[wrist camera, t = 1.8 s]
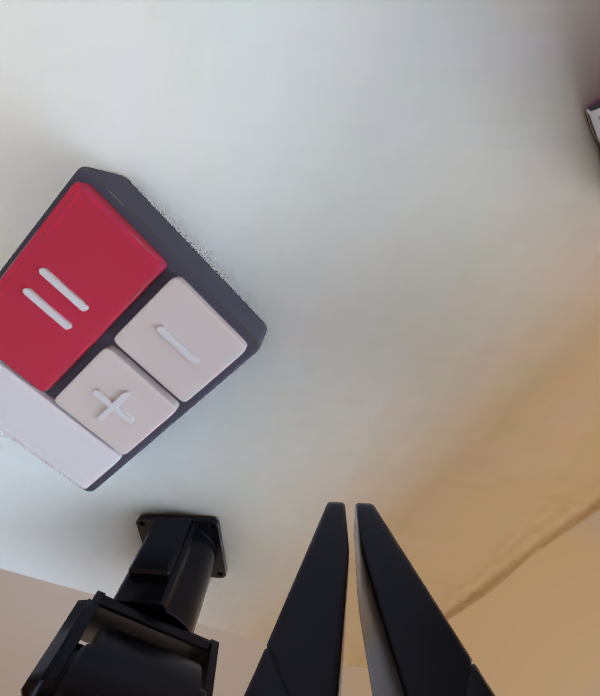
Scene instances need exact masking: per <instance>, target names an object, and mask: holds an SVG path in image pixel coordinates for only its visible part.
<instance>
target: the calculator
mask: <svg viewBox="0 0 600 696" xmlns="http://www.w3.org/2000/svg"><path fill="white" fill-rule="evenodd" d="M266 330H267V328H266V325H265V324H264V322H263V321H262V320H261V319H260V318H259V317H258V316H257V315H256V314H255V313H254V312H253V311H252V310H251V309H250V308H249V307H248V306H247V305H246V303H245V302H244V301H243V300H242V299H241V298H240V297H239V296H238V295H237V294H236V293H235V292H234V291H233V290H232V289H231V288H230V287H229V286H228V285H227V284H226V282H225V281H224V280H223V279H222V278H221V277H220V276H219V275H218V274H217V273H216V272H215V271H214V270H213V269H212V268H211V267H210V266H209V265H208V264H207V262H206V261H205V260H204V259H203V258H202V257H201V256H200V255H199V254H198V253H197V252H196V251H195V250H194V249H193V248H192V247H191V246H190V245H189V244H188V243H187V241H186V240H185V239H184V238H183V237H182V236H181V235H180V234H179V233H178V232H177V231H176V230H175V229H174V228H173V227H172V226H171V225H170V224H169V223H168V222H167V220H166V219H165V218H164V217H163V216H162V215H161V214H160V213H159V212H158V211H157V210H156V209H155V208H154V207H153V206H152V205H151V204H150V203H149V202H148V200H147V199H146V198H145V197H144V196H143V195H142V194H141V193H140V192H139V191H138V190H137V189H136V188H135V187H134V186H133V185H132V184H131V183H130V182H129V181H128V180H127V179H126V178H125V177H123V176H121V175H118V174H114V173H110V172H106V171H102V170H98V169H94V168H90V167H81V168H79V169H78V170H77V172H76V173H75V174H74V175H73V177H72V178H71V179H70V181H69V182H68V183H67V184H66V186H65V187H64V188H63V190H62V191H61V192H60V194H59V195H58V196H57V198H56V199H55V200H54V201H53V203H52V204H51V205H50V207H49V208H48V209H47V211H46V212H45V213H44V215H43V216H42V217H41V219H40V220H39V221H38V222H37V224H36V225H35V226H34V228H33V229H32V230H31V232H30V233H29V234H28V236H27V237H26V238H25V240H24V241H23V242H22V243H21V245H20V246H19V247H18V249H17V250H16V251H15V253H14V254H13V255H12V257H11V258H10V259H9V260H8V262H7V263H6V264H5V266H4V267H3V268H2V270H1V271H0V430H1V431H3V432H4V433H5V434H7V435H8V436H9V437H11V438H12V439H14V440H15V441H16V442H18V443H19V444H20V445H22V446H23V447H25V448H26V449H27V450H29V451H30V452H31V453H33V454H34V455H36V456H37V457H38V458H40V459H41V460H42V461H44V462H45V463H47V464H48V465H49V466H51V467H52V468H54V469H55V470H56V471H58V472H59V473H60V474H62V475H63V476H65V477H66V478H67V479H69V480H70V481H71V482H73V483H74V484H76V485H77V486H79V487H80V488H82V489H84V490H86V491H93V490H95V489H96V488H98V487H99V486H100V485H101V484H102V483H103V482H105V481H106V480H107V479H108V478H109V477H110V476H112V475H113V474H114V473H115V472H116V471H118V470H119V469H120V468H121V467H122V466H123V465H125V464H126V463H127V462H128V461H129V460H130V459H132V458H133V457H134V456H135V455H136V454H137V453H139V452H140V451H141V450H142V449H143V448H144V447H146V446H147V445H148V444H149V443H150V442H152V441H153V440H154V439H155V438H156V437H157V436H159V435H160V434H161V433H162V432H163V431H164V430H166V429H167V428H168V427H169V426H170V425H171V424H173V423H174V422H175V421H176V420H177V419H178V418H180V417H181V416H182V415H183V414H184V413H185V412H187V411H188V410H189V409H190V408H191V407H193V406H194V405H195V404H196V403H197V402H198V401H200V400H201V399H202V398H203V397H204V396H205V395H207V394H208V393H209V392H210V391H211V390H212V389H214V388H215V387H216V386H217V385H218V384H219V383H221V382H222V381H223V380H224V379H225V378H227V377H228V376H229V375H230V374H231V373H232V372H234V371H235V370H236V369H237V368H238V367H239V366H241V365H242V364H243V363H244V362H245V361H246V360H248V359H249V358H250V357H251V356H252V355H253V354H255V353H256V352H257V351H258V350H259V348H260V346H261V343H262V341H263V339H264V336H265V334H266Z"/></svg>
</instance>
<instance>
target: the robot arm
mask: <svg viewBox="0 0 600 696" xmlns="http://www.w3.org/2000/svg"><path fill="white" fill-rule="evenodd" d="M136 524H137V528H138V531H139V534H140V538H141V541H142V546H141V548H140V549H139V551H138V553H137V555H136V557H135V559H134V560H133V562H132V564H131V566H130V568H129V571H128V573H127V575H126V577H125V579H124V581H123V582H122V584H121V586H120V588H119V590H118V592H117V594H116V595H115V597H114V599H112V598H110V597H108V596H105V594H106V593H103V592H101V591H99V590H98V591H97V593H96V594H95V596H94V598H93V599H92V600H91V599H88V600H78V602H77V603H76V605H75V606H74V608H73V610H72V611H71V613H70V614H69V616H68V617H67V619H66V621H65V622H64V624H63V625H62V627H61V629H60V630H59V632H58V633H57V635H56V636H55V638H54V639H53V641H52V642H51V644H50V646H49V647H48V649H47V650H46V652H45V653H44V655H43V656H42V658H41V659H40V661H39V662H38V664H37V666H36V667H35V669H34V670H33V672H32V673H31V675H30V676H29V678H28V679H27V681H26V683H25V684H24V686H23V687H22V689H21V696H212V694H213V686H214V678H215V671H216V663H217V655H218V647H219V642H217V641H215V640H212V639H211V640H208V639H206V638H203V637H201V636H199V635H197V634H194V630H195V627H196V623H197V620H198V617H199V614H200V610H201V607H202V604H203V601H204V598H205V594H206V591H207V588H208V585H209V582H210V578H211V577H216V578H223V577H225V576H226V572H227V566H226V560H225V554H224V548H223V542H222V536H221V530H220V524H219V521H218V520H217V519H215V518H209V517H186V516H163V515H140V516H139V518H138V519H137V521H136ZM354 542H355V559H356V576H357V594H358V606H359V614H360V621H361V627H362V633H363V640H364V646H365V652H366V658H367V664H368V671H369V677H370V683H371V689H372V695H373V696H495V694H494V693H493V691H492V690H491V688H490V687H489V685H488V684H487V682H486V680H485V679H484V677H483V676H482V674H481V673H480V671H479V669H478V668H477V666H476V665H475V664H471V663H472V659H471V658H470V656H469V654H468V653H467V651H466V649H465V648H464V646H463V645H462V643H461V642H460V640H459V638H458V637H457V635H456V634H455V632H454V631H453V629H452V627H451V626H450V624H449V623H448V621H447V620H446V618H445V616H444V615H443V613H442V612H441V610H440V609H439V607H438V605H437V604H436V602H435V601H434V599H433V598H432V596H431V595H430V593H429V591H428V590H427V588H426V587H425V585H424V584H423V582H422V580H421V579H420V577H419V576H418V574H417V573H416V571H415V569H414V568H413V566H412V565H411V563H410V562H409V560H408V558H407V557H406V555H405V554H404V552H403V551H402V549H401V548H400V546H399V544H398V543H397V541H396V540H395V538H394V537H393V535H392V533H391V532H390V530H389V529H388V527H387V526H386V524H385V522H384V521H383V519H382V518H381V516H380V515H379V513H378V511H377V510H376V508H375V507H374V506H373V505H372V504H369V503H357V504H356V505H355V519H354ZM348 562H349V545H348V533H347V522H346V511H345V505H344V503H342V502H329V503H328V504H327V506H326V508H325V510H324V513H323V515H322V517H321V520H320V522H319V524H318V527H317V529H316V531H315V534H314V536H313V538H312V541H311V543H310V545H309V548H308V550H307V552H306V555H305V557H304V559H303V562H302V564H301V566H300V569H299V571H298V573H297V576H296V578H295V580H294V583H293V585H292V587H291V590H290V592H289V594H288V597H287V599H286V601H285V604H284V606H283V608H282V611H281V613H280V615H279V618H278V620H277V622H276V625H275V627H274V629H273V632H272V634H271V636H270V639H269V641H268V643H267V649H265V650H264V652H263V655H262V657H261V659H260V661H259V664H258V666H257V669H256V671H255V673H254V675H253V677H252V680H251V682H250V684H249V686H248V688H247V691H246V693H245V695H244V696H341V683H342V668H343V653H344V638H345V622H346V603H347V582H348ZM80 640H82V641H85V642H87V643H89V644H87V645H85V646H84V645H81V644H79V643H78V642H79V641H80Z"/></svg>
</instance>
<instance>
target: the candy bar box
mask: <svg viewBox="0 0 600 696" xmlns="http://www.w3.org/2000/svg"><path fill="white" fill-rule="evenodd" d="M586 114H587V118H588V122H589V124H590V127H591V131H592V133H593V136H594V138H595V140H596V141H597V143H598V145H599V148H600V99H598V100H597V101H595V102H594V103H592V104H591V105H589V106H588V107H587V108H586Z"/></svg>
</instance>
